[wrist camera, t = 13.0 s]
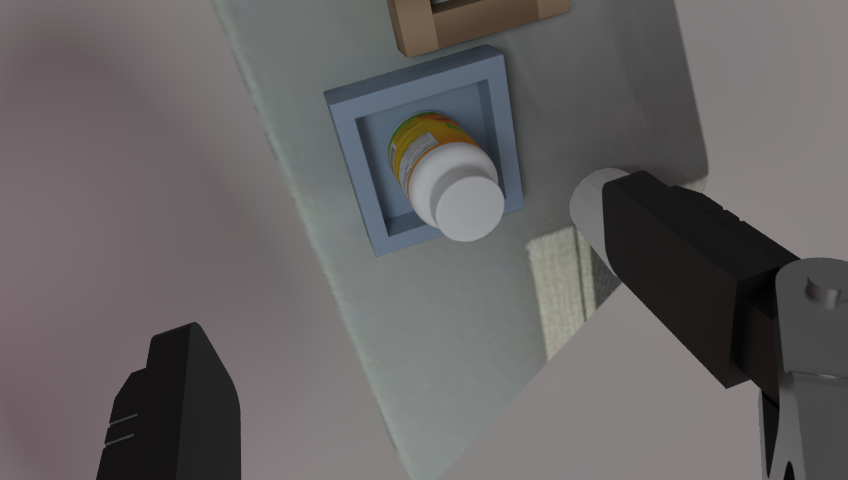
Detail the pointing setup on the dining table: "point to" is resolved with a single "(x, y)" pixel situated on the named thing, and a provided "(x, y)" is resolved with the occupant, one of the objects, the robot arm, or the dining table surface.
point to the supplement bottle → (445, 176)
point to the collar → (461, 20)
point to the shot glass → (592, 208)
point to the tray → (405, 95)
